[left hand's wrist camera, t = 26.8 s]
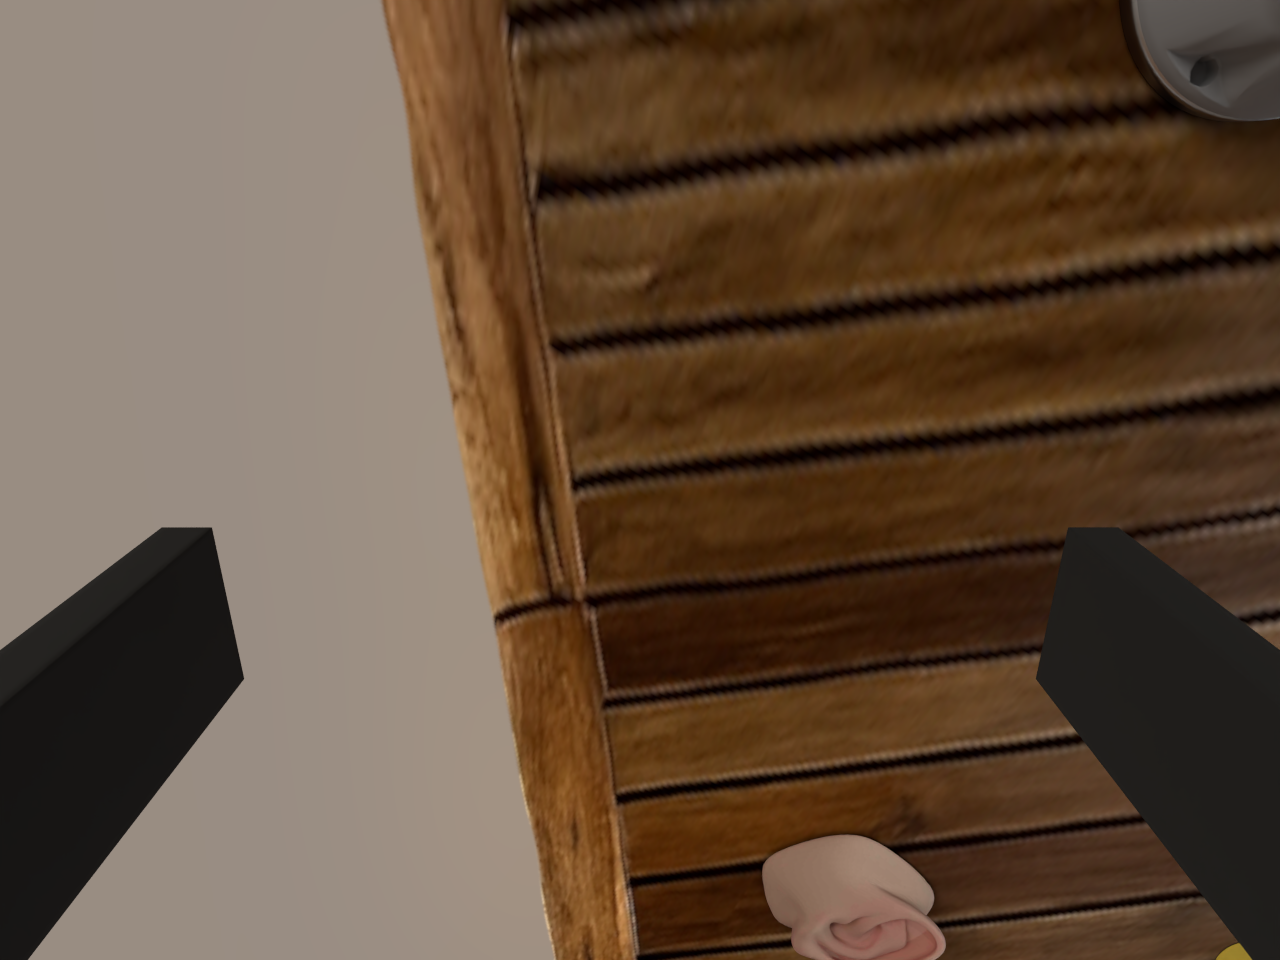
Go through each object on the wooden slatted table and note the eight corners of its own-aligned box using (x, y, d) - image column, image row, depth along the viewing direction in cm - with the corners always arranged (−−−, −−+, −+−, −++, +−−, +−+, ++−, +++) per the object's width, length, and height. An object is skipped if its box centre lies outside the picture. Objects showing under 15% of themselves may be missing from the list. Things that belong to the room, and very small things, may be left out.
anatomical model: (740, 918, 59) (875, 845, 56) (734, 874, 63) (860, 803, 60) (838, 1017, 63) (968, 953, 60) (827, 970, 66) (949, 907, 64)
